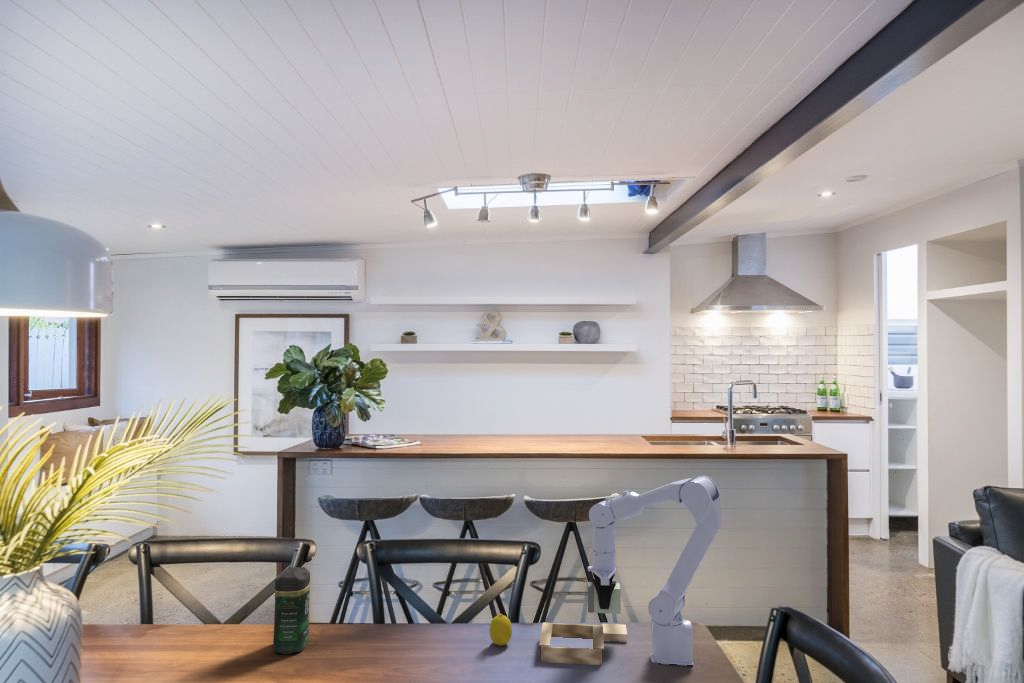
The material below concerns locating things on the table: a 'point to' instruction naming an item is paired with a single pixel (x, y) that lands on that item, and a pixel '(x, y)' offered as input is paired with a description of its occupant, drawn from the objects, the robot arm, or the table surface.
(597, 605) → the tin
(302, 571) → the coffee jar
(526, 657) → the table surface
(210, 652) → the table surface
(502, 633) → the lemon
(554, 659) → the wooden tray
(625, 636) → the oak stand
